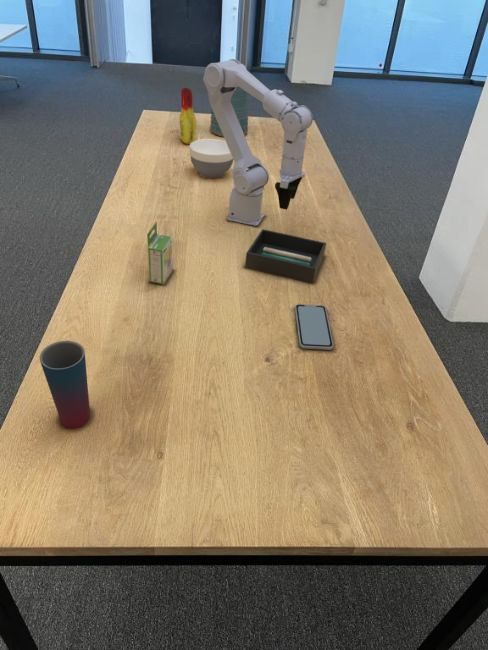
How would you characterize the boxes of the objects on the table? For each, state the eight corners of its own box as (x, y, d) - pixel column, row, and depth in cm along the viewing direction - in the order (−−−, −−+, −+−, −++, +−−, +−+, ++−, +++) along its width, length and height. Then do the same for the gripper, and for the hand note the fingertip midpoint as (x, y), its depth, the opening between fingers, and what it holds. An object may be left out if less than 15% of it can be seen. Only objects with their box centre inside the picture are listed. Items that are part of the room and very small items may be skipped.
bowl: (242, 177, 178) (244, 150, 172) (203, 185, 171) (204, 157, 165) (218, 162, 188) (219, 136, 182) (181, 169, 181) (181, 142, 175)
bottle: (178, 136, 208) (178, 84, 196) (194, 136, 209) (194, 84, 197) (180, 146, 199) (180, 92, 187) (196, 146, 200) (197, 92, 188)
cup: (59, 403, 91) (44, 340, 82) (98, 402, 92) (87, 340, 82) (51, 433, 86) (34, 369, 76) (92, 432, 86) (80, 369, 77)
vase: (233, 141, 208) (237, 70, 191) (202, 132, 214) (203, 63, 197) (254, 132, 219) (260, 64, 202) (224, 123, 225) (226, 57, 208)
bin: (245, 267, 132) (246, 252, 129) (260, 243, 142) (262, 228, 139) (312, 283, 128) (315, 268, 125) (323, 257, 138) (326, 242, 136)
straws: (260, 257, 135) (261, 249, 133) (263, 252, 137) (264, 244, 135) (309, 268, 132) (310, 260, 131) (311, 263, 134) (313, 255, 133)
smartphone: (300, 346, 107) (294, 303, 118) (299, 349, 107) (294, 306, 119) (334, 347, 107) (325, 305, 119) (333, 350, 108) (325, 308, 119)
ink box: (164, 285, 123) (162, 236, 114) (148, 282, 123) (145, 234, 115) (173, 270, 128) (172, 223, 120) (158, 268, 128) (156, 220, 120)
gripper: (301, 167, 127) (294, 216, 136) (313, 149, 138) (306, 196, 147) (274, 162, 129) (269, 211, 137) (288, 145, 140) (283, 191, 148)
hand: (287, 203), depth 142 cm, fingers open, 7 cm apart
